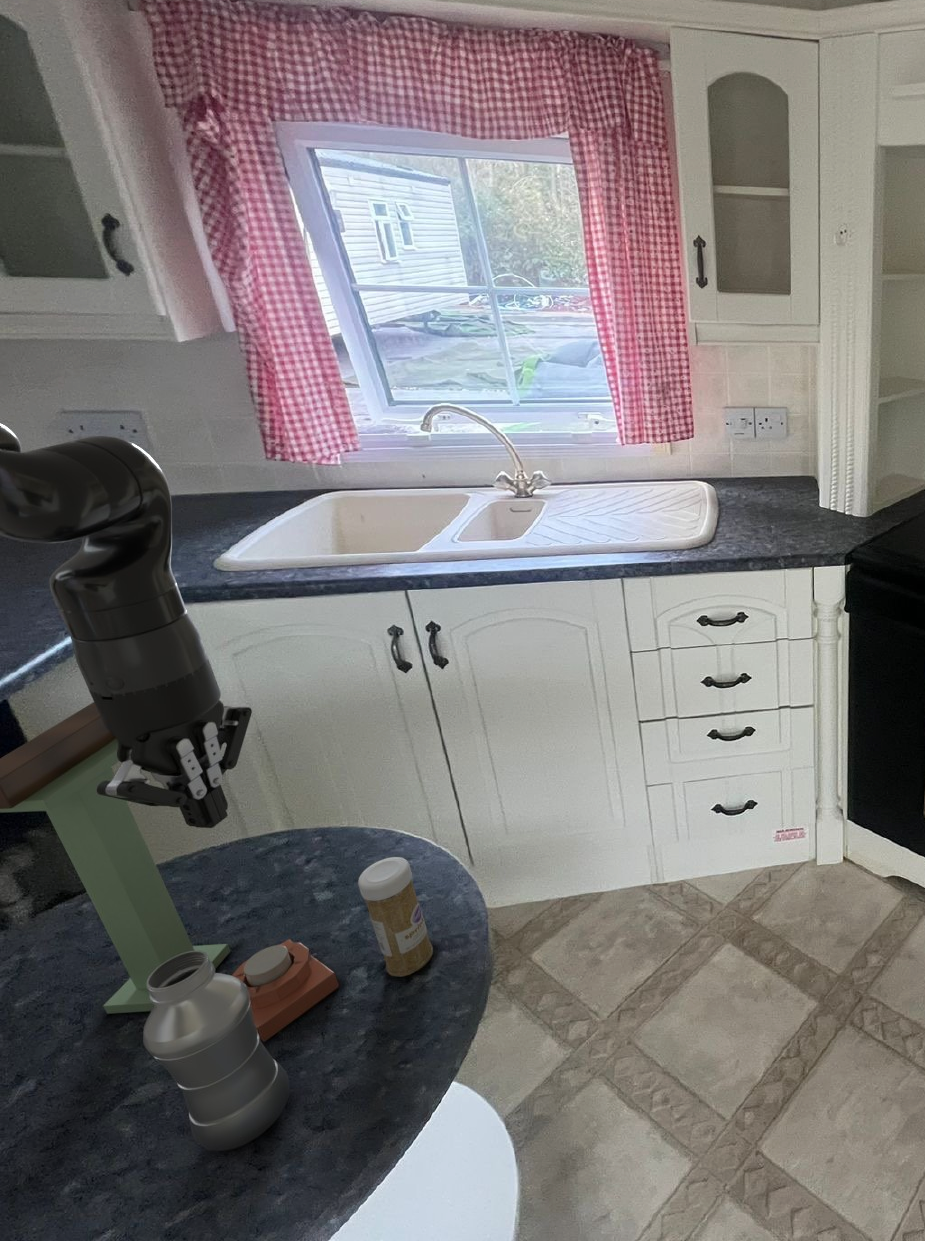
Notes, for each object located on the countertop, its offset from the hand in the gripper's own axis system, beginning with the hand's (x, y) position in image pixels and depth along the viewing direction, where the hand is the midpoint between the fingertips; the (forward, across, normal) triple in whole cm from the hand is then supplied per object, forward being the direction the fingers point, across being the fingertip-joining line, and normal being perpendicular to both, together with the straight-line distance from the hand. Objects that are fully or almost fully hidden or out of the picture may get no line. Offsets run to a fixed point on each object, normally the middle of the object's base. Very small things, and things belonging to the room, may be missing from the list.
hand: (210, 822), depth 71 cm
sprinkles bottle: (+24, -5, +11) cm, 27 cm away
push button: (+20, 0, 0) cm, 20 cm away
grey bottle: (+24, +12, +8) cm, 28 cm away
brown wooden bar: (-6, -5, -13) cm, 15 cm away
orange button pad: (+24, 0, 0) cm, 24 cm away
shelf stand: (+24, -1, -13) cm, 27 cm away
